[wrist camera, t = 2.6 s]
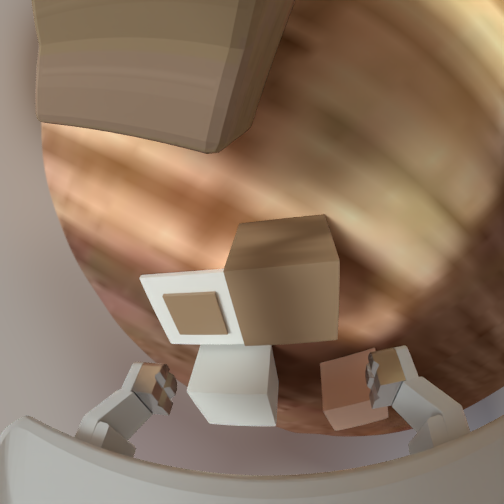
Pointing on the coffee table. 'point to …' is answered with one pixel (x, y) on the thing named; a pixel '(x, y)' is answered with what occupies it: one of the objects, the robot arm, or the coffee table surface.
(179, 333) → the card
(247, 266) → the walnut cube
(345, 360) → the terracotta cube
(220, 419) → the base block
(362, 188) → the coffee table surface
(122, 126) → the decorative block
